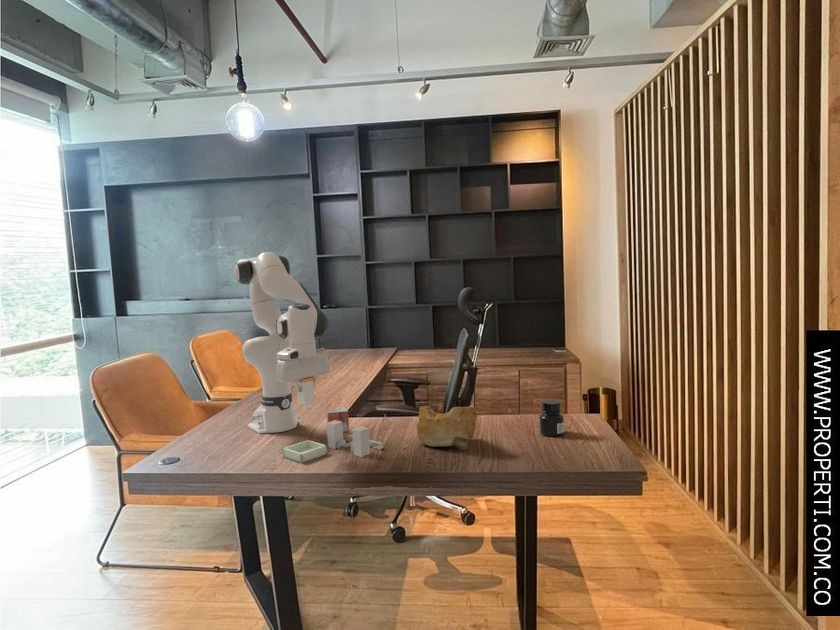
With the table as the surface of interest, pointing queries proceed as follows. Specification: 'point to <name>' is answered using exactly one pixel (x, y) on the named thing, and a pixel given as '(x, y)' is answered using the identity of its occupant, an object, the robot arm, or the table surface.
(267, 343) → the robot arm
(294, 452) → the tray
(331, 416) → the small box
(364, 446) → the block
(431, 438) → the rough brown rock
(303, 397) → the block
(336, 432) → the block
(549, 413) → the ink bottle
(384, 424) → the table surface
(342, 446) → the rail
